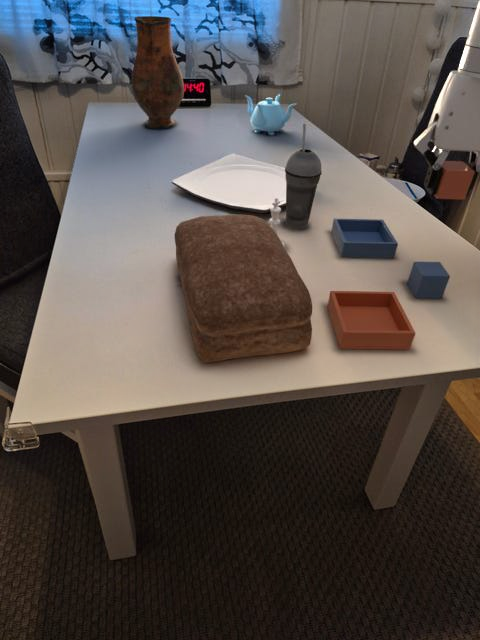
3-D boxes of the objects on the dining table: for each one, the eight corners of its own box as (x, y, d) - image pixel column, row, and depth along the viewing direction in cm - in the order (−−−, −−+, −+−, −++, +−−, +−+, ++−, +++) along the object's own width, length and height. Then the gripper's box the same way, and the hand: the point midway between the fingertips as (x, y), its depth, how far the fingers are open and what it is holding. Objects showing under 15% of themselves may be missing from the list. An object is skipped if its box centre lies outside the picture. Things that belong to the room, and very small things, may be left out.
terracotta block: (453, 188, 73) (463, 161, 71) (464, 199, 70) (475, 171, 67) (426, 187, 73) (435, 160, 71) (436, 198, 70) (445, 170, 67)
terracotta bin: (389, 307, 72) (394, 291, 70) (409, 349, 64) (415, 333, 62) (327, 306, 72) (330, 290, 70) (339, 348, 64) (343, 332, 62)
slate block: (431, 283, 78) (439, 261, 75) (441, 298, 75) (450, 276, 72) (406, 283, 78) (413, 261, 75) (415, 298, 74) (423, 275, 72)
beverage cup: (295, 236, 90) (307, 133, 78) (272, 222, 95) (281, 123, 82) (320, 227, 94) (337, 127, 81) (297, 214, 98) (309, 118, 86)
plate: (324, 185, 112) (325, 175, 111) (266, 226, 93) (267, 214, 92) (231, 160, 124) (231, 151, 122) (162, 192, 105) (162, 181, 103)
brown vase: (130, 130, 143) (117, 18, 124) (143, 113, 160) (134, 12, 141) (181, 133, 143) (177, 21, 124) (189, 115, 160) (186, 15, 141)
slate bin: (379, 233, 93) (383, 219, 91) (394, 258, 85) (398, 243, 83) (331, 232, 92) (333, 218, 90) (341, 257, 84) (344, 242, 82)
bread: (262, 251, 85) (266, 194, 78) (315, 355, 62) (328, 288, 55) (172, 258, 81) (168, 199, 74) (194, 370, 59) (192, 301, 52)
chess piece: (254, 247, 86) (257, 197, 80) (271, 239, 89) (275, 190, 83) (273, 256, 83) (278, 206, 77) (290, 248, 86) (295, 199, 80)
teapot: (243, 126, 151) (244, 94, 145) (279, 124, 155) (281, 92, 149) (256, 137, 142) (257, 103, 136) (294, 135, 145) (297, 101, 139)
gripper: (536, 61, 63) (486, 185, 75) (419, 56, 63) (387, 181, 74) (566, 71, 57) (508, 204, 69) (438, 65, 57) (400, 200, 68)
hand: (446, 191), depth 71 cm, fingers closed on terracotta block, 4 cm apart
